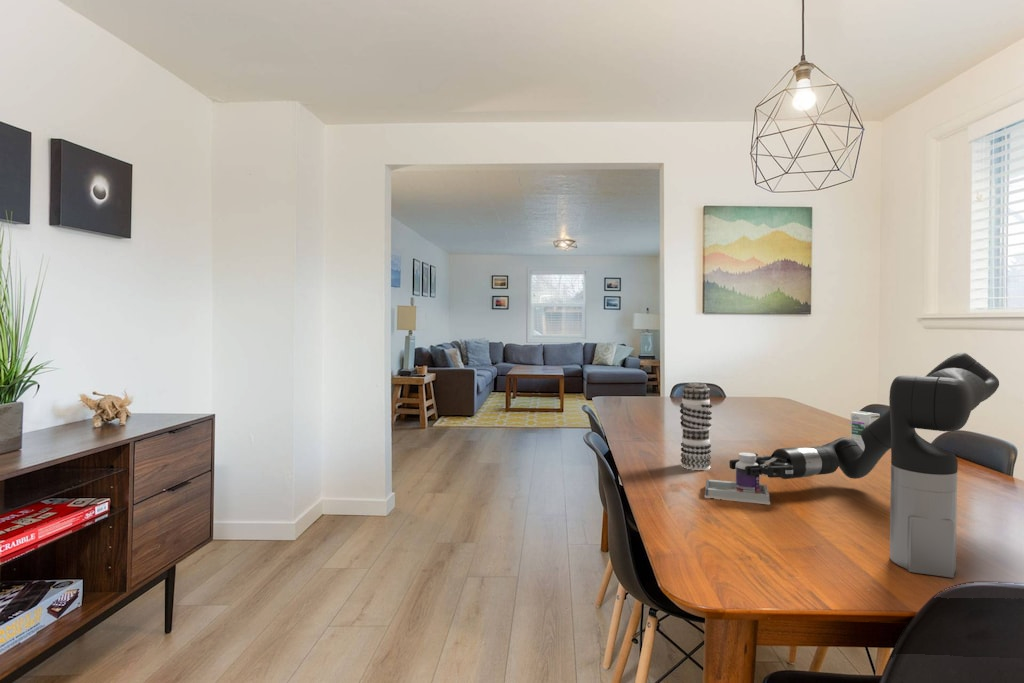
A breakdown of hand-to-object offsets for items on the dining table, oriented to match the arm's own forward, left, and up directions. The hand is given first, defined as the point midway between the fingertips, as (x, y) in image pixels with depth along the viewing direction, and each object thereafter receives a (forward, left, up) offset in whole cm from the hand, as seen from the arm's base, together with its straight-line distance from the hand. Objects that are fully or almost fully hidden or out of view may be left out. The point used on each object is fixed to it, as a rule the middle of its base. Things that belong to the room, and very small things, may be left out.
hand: (738, 467), depth 131 cm
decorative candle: (+25, +11, -7) cm, 29 cm away
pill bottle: (+1, -2, -7) cm, 7 cm away
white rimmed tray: (+1, +1, -7) cm, 7 cm away
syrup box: (+53, -38, -7) cm, 66 cm away
